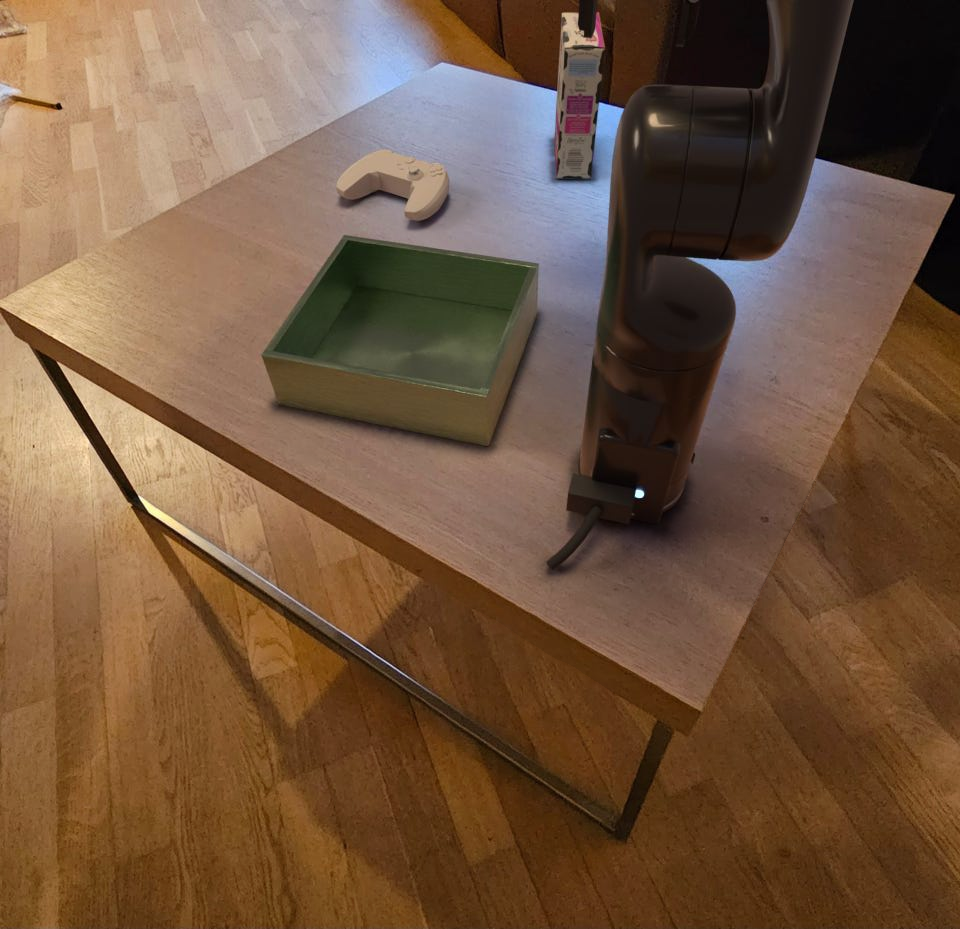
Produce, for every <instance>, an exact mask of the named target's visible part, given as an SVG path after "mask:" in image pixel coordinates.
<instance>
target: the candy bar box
mask: <svg viewBox="0 0 960 929" xmlns="http://www.w3.org/2000/svg"><path fill="white" fill-rule="evenodd" d="M578 13H579V11H575V12H561V26H560V42H559V57H558V70H557V87H556V88H557V89H556V101H555V102H556V104H555V118H554V119H555V120H554V121H555V122H554V123H555V124H554V159H555V160H554V161H555V177H556V179H557V180H591V179H592V172H593V162H594V155H595V154H594V153H595V152H594V151H595V143H596V136H597V135H596V134H597V126H598V118H599V117H598V116H599V107H600V98H601V89H602V81H603V80H602V79H603V71H604V61H605V52H606V45H605V41H604V36H603V35H604V34H603V29H602V22H601V17H600V12H598V11H597V13H596V25H595V31H594V34H593V36H592V38H584V31H582V30H579V27H578Z"/></svg>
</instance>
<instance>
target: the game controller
mask: <svg viewBox="0 0 960 929" xmlns="http://www.w3.org/2000/svg"><path fill="white" fill-rule="evenodd" d="M335 186H336V192H337V194H338V195H339V196H340V197H342V198H344V199H347V200H357V199H361V198H363V197H365V196H368V195H370V194H372V193H374V192H377V191H378V190H379V191H382V192H386V193H389V194H393V195H396V196H398V197H402V198H404V199H407V202H406V205H405V206H404V216H405V218H406V219H408V220H412V221H424V220H427V219H428V218H430V217H432V216H434V214H436V213H437V212H438V211H439V210H440V209H441V208H442V206H443V204H444V203H445V201H446V200H447V197H448V194H449V190H450V177H449V175H448V171H447V169H446V167H445V166H443V165H442V164H440V163H437V162H433V163H431V162H429V161H424V160H420V159H417V158H415V157H414V156H406V155H403V154H399V153H395V152H394V151H393V150H390V149H379V150H376V151H374V152H371V153H369V154H367V155H365V156H363V157H362V158H360V159H359V160H357V161H355V162H354V163H353V164H352V165H350V166H349V167H347V169H346V170H345V171H344V172H343V173H342V174H340V176H339V178H338V179H337V182H336V185H335Z"/></svg>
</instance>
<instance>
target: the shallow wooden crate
mask: <svg viewBox="0 0 960 929" xmlns="http://www.w3.org/2000/svg"><path fill="white" fill-rule="evenodd" d="M539 276H540V263H538V262H531V261H525V260H519V259H510V258H505V257H497V256H491V255H484V254H477V253H471V252H464V251H456V250H451V249H450V250H449V249H443V248H436V247H430V246H422V245H417V244H409V243H403V242H402V243H401V242H395V241H389V240H382V239H375V238H368V237H361V236H354V235H348V234H344V235H342V237H341V238H340V240H339V242H338V243H337V244H336V246H335V247H334V249H333V250H332V251H331V253H330V254H329V256H328V257H327V259H326V260H325V261H324V263H323V265H322V266H321V267H320V269H319V271H318V272H317V273H316V275H315V276H314V278H312V281H311V282H310V283H309V285H308V286H307V287H306V289H305V291H304V292H303V293H302V294H301V297H300V298H299V299H298V301H297V302H296V303H295V305H294V306H293V308H292V310H291V311H290V312H289V314H288V315H287V317H286V318H285V320H284V321H283V322H282V324H281V326H280V327H279V328H278V330H277V331H276V332H275V334H274V336H273V337H272V338H271V340H270V341H269V343H268V344H267V346H266V347H265V349H264V350H263V351H262V353H261V355H260V356H261V358H262V361H263V364H264V367H265V369H266V372H267V376H268V378H269V381H270V383H271V386H272V389H273V392H274V394H275V397H276V401H277V404H278V405H281V406H286V407H290V408H295V409H301V410H306V411H310V412H314V413H319V414H325V415H330V416H335V417H340V418H346V419H350V420H356V421H360V422H365V423H370V424H375V425H380V426H386V427H390V428H394V429H400V430H405V431H411V432H414V433H420V434H425V435H429V436H433V437H434V436H435V437H439V438H445V439H449V440H454V441H459V442H464V443H470V444H475V445H479V446H485V447H490V443H491V441H492V438H493V435H494V433H495V430H496V427H497V424H498V422H499V418H500V416H501V413H502V411H503V409H504V406H505V403H506V400H507V397H508V395H509V392H510V389H511V386H512V384H513V381H514V379H515V375H516V372H517V370H518V367H519V365H520V361H521V359H522V357H523V353H524V351H525V348H526V345H527V343H528V340H529V337H530V334H531V332H532V329H533V326H534V323H535V321H536V318H537V315H538V301H539V300H538V297H539Z"/></svg>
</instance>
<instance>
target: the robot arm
mask: <svg viewBox="0 0 960 929" xmlns="http://www.w3.org/2000/svg"><path fill="white" fill-rule="evenodd" d="M702 1H703V0H683V2H682V7H681V11H680V12H681V13H680V18H679V25H678V30H677V35H676V42H675V47H678V48H679V47H680V48H684V46H685V43H686V41H691V40H692V38H693V37H694V34H695V31H696V26H697V22H698V16H699V12H700V5H701V2H702ZM854 1H855V0H765V2H766V8H767V15H768V30H769V31H768V32H769V34H768V35H769V37H768V38H769V51H768V52H769V53H768V61H767V70H766V73H765V77H764V81H763V83H762V85H761V87H759V88H745V87H725V86H723V87H722V86H705V85H704V86H703V85H702V86H701V85H685V84H684V85H682V84H648V85H644V86H642V87H639V89H637V90H636V91H634V93H633V94H632V95H631V96H630V97H629V99H628V100H627V103H626V104H625V106H624V108H623V110H622V113H621V116H620V118H619V123H618V125H617V129H616V133H615V140H614V146H613V151H612V159H611V171H610V181H609V198H608V199H609V202H608V220H607V222H608V223H607V235H606V249H605V250H606V251H605V262H604V264H605V265H604V270H603V278H602V286H601V292H600V297H599V304H598V309H597V318H596V329H595V335H594V336H595V338H594V344H593V345H594V346H593V352H592V360H591V366H590V367H591V368H590V373H589V374H590V375H589V383H588V391H587V399H586V407H585V415H584V422H583V423H584V424H583V430H582V431H583V432H582V438H581V439H582V440H581V448H580V456H579V458H578V463H577V473H575V472H573V473H572V475H571V480H570V484H569V487H568V492H567V498H566V507H565V511H566V512H571V513H574V514H579V515H585V516H586V517H585V518H584V520H583V521H582V523H581V524H580V526H579V527H578V528H577V530H576V531H575V532H574V534H573V535H572V536H571V537H570V539H569V540H568V541H567V542H566V543H565V545H563V546H562V547H561V548H560V549H559V550H558V551H557V552H556V553H555V554H553V556H551V557H550V558H548V560H546V565H547V566H548V567H549V569H550V570H552V571H555V570H556V569H557V568H558V567H559V566H560V565H562V564H563V563H564V562H566V561H567V559H569V558H570V557H571V556H572V555H573V554H574V553H575V552H576V551H577V550H578V549H579V547H580V546H581V545H582V544H583V543H584V541H585V540H586V539H587V537H588V536H589V534H590V532H591V531H592V529H593V528H594V527H595V525H596V523H597V522H598V521H599V519H602V520H603V519H604V520H607V521H612V522H617V523H622V524H625V525H626V524H627V525H629V524H630V521H631V520H636V521H641V522H646V523H650V524H655V525H657V524H659V523H660V521H661V518H662V514H664V513H665V512H667V511H669V510H670V509H671V508H673V507H674V506H675V505H676V504H677V503H678V501H679V500H680V499H681V497H682V495H683V493H684V489H685V486H686V482H687V477H688V476H687V475H688V473H689V470H690V466H691V465H693V464H694V462H695V458H696V455H697V454H696V453H695V449H696V447H697V443H698V441H699V437H700V434H701V430H702V426H703V423H704V420H705V417H706V414H707V411H708V408H709V404H710V402H711V399H712V395H713V391H714V389H715V385H716V382H717V378H718V376H719V373H720V370H721V367H722V364H723V360H724V357H725V353H726V351H727V347H728V344H729V342H730V339H731V335H732V332H733V329H734V327H735V321H736V318H737V317H736V316H737V305H736V299H735V297H734V294H733V292H732V290H731V289H730V286H729V285H728V284H727V283H726V282H725V281H724V280H723V278H721V277H720V276H719V275H718V274H717V273H715V272H714V271H713V270H711V269H710V268H708V267H707V266H705V265H703V264H701V263H699V262H697V261H695V260H693V259H700V260H701V259H703V260H714V261H715V260H718V261H732V262H759V261H764V260H768V259H769V258H772V257H773V256H774V255H776V254H777V253H778V252H779V251H780V250H781V249H782V248H783V246H784V244H785V243H786V241H787V240H788V238H790V234H791V233H792V231H793V228H794V226H795V224H796V222H797V219H798V217H799V214H800V212H801V209H802V206H803V202H804V200H805V197H806V193H807V190H808V187H809V182H810V179H811V176H812V171H813V169H814V168H813V167H814V164H815V160H816V156H817V152H818V149H819V145H820V141H821V136H822V132H823V128H824V125H825V124H824V123H825V120H826V117H827V116H826V115H827V113H828V112H827V111H828V107H829V104H830V100H831V99H830V98H831V94H832V90H833V86H834V82H835V79H836V76H837V75H836V74H837V70H838V66H839V62H840V58H841V53H842V50H843V45H844V41H845V37H846V32H847V29H848V24H849V20H850V16H851V13H852V8H853V5H854ZM598 2H599V1H598V0H578V12H579V13H578V27H579V30H582V31H584V38H592V36H593V34H594V31H595V25H596V13H597V12H598Z"/></svg>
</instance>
